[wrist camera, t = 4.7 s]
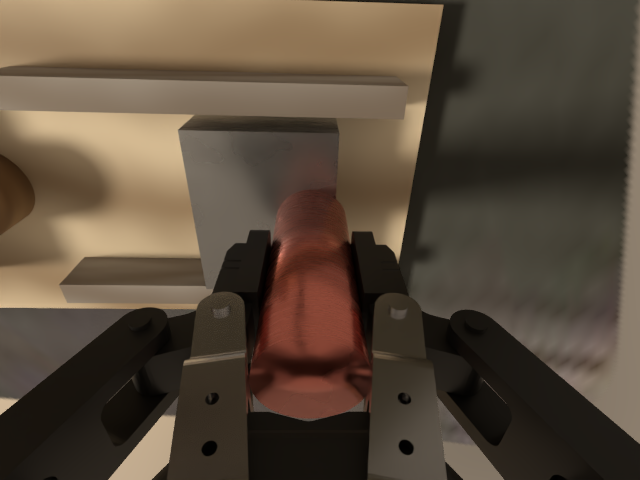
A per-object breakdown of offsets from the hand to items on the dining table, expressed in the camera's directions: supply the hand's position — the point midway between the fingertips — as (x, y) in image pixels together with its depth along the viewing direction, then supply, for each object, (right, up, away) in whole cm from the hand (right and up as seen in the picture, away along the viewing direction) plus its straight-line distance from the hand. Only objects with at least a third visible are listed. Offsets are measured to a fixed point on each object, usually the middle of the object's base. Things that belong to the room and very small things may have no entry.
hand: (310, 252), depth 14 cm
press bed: (-9, +4, +5) cm, 11 cm away
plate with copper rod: (-2, +3, +4) cm, 6 cm away
